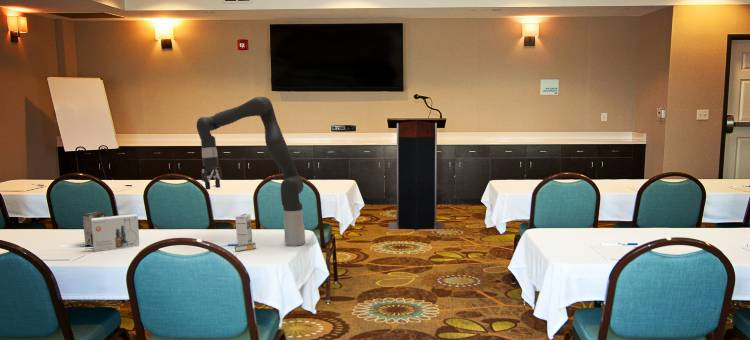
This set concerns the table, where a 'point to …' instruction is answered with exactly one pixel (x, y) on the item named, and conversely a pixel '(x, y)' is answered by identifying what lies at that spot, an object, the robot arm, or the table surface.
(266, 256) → the table surface
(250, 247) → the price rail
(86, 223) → the coffee box
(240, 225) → the syrup box
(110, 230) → the skincare box
